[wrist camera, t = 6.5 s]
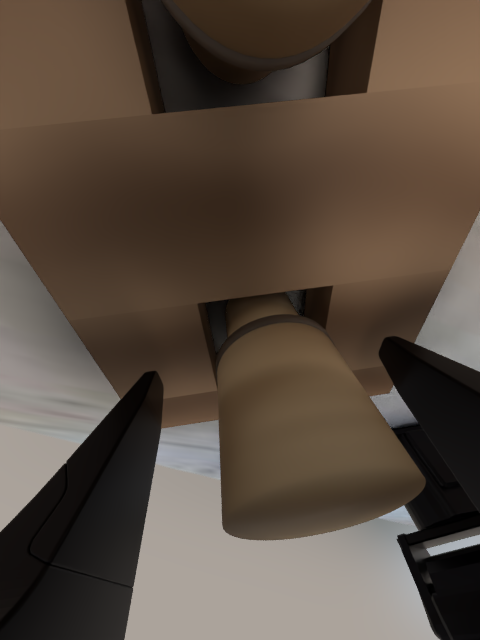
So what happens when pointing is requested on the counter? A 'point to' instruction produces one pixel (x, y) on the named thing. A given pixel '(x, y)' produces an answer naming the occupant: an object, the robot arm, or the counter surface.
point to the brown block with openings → (239, 175)
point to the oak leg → (299, 430)
